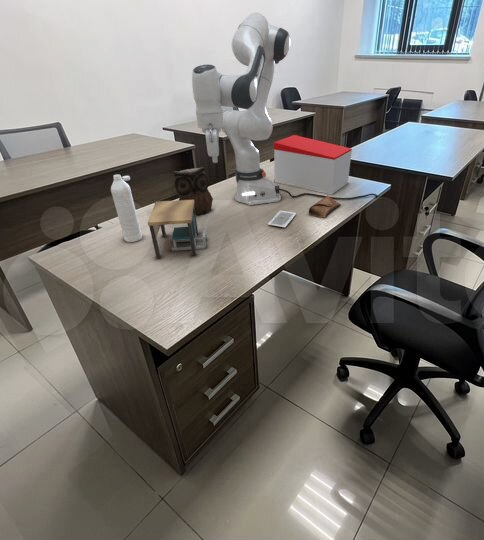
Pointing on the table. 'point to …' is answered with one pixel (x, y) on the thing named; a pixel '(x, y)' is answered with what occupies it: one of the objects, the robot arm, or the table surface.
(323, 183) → the red-lidded white box
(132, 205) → the water bottle
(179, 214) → the desk
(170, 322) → the table surface
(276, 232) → the table surface
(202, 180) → the owl
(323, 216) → the sunglasses case
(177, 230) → the chair
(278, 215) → the deck of cards
